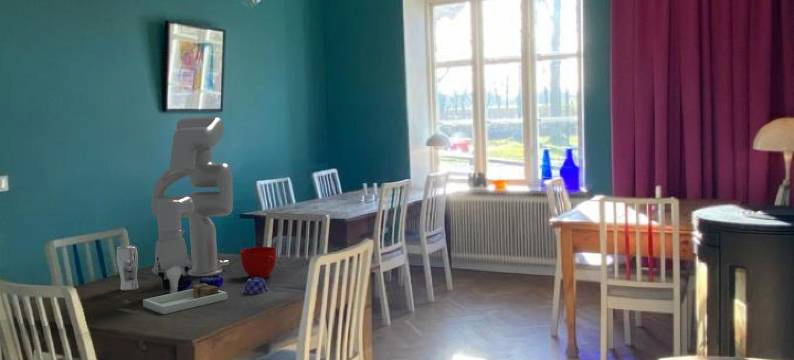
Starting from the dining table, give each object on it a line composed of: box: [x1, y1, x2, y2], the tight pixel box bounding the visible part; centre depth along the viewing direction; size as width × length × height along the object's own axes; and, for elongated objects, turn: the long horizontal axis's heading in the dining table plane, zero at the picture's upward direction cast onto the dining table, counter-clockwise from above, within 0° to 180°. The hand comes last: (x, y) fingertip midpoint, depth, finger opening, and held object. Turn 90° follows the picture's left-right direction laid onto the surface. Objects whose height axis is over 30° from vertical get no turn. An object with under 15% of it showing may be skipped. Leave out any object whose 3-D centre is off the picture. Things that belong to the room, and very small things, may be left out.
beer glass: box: [116, 244, 139, 292], centre depth 253 cm, size 7×7×15 cm
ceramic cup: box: [240, 246, 277, 279], centre depth 264 cm, size 13×17×10 cm
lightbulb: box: [163, 266, 182, 294], centre depth 242 cm, size 6×6×11 cm
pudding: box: [244, 277, 271, 295], centre depth 240 cm, size 12×12×5 cm
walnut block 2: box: [200, 285, 219, 297], centre depth 231 cm, size 4×4×4 cm
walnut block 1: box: [192, 282, 210, 298], centre depth 234 cm, size 4×4×4 cm
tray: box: [142, 288, 229, 315], centre depth 228 cm, size 22×14×3 cm, turn 134°
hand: (173, 288), depth 242 cm, fingers closed on lightbulb, 4 cm apart
